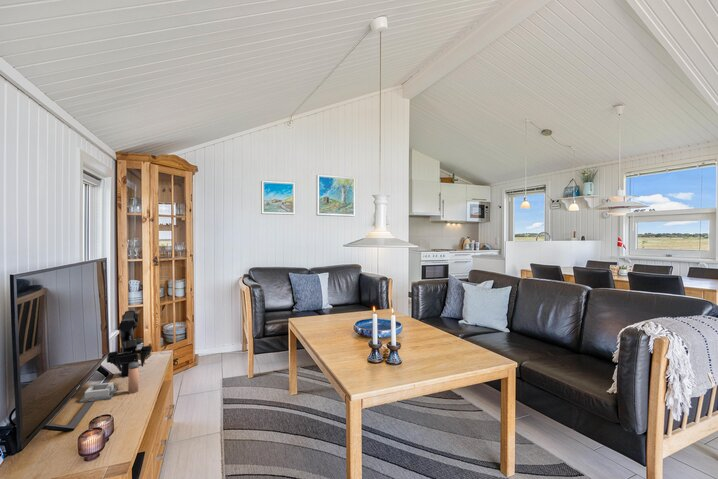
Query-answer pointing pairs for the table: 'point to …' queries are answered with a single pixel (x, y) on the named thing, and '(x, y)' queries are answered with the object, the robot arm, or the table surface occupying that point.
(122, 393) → the table surface
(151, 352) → the lion figurine
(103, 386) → the socket block
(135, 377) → the peg
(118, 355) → the robot arm
